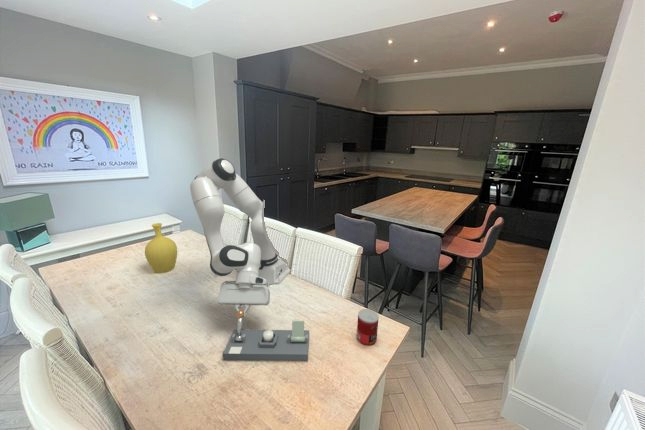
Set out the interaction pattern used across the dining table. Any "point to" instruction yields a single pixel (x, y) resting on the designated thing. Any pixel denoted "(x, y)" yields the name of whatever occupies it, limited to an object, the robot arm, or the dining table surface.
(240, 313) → the steel toggle
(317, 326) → the dining table surface
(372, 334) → the canned food
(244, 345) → the switch panel
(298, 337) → the green paddle
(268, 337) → the push button
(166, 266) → the vase
